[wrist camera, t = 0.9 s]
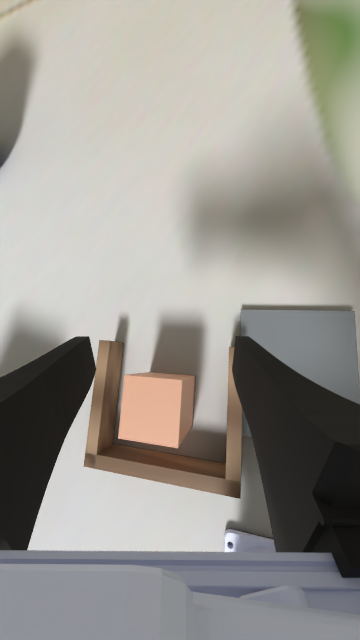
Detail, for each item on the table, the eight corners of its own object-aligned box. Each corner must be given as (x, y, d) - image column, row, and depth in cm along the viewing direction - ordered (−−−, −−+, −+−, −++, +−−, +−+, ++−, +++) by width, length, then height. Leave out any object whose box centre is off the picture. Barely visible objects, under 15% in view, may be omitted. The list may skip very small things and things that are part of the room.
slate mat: (359, 450, 19) (363, 453, 19) (238, 433, 22) (238, 435, 21) (351, 312, 21) (354, 310, 21) (240, 310, 24) (241, 309, 23)
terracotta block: (192, 426, 23) (178, 448, 17) (145, 420, 24) (117, 438, 18) (194, 375, 24) (182, 380, 18) (150, 372, 25) (124, 374, 19)
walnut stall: (239, 479, 21) (240, 498, 18) (101, 454, 24) (83, 466, 22) (242, 349, 23) (243, 347, 20) (114, 342, 26) (99, 340, 24)
